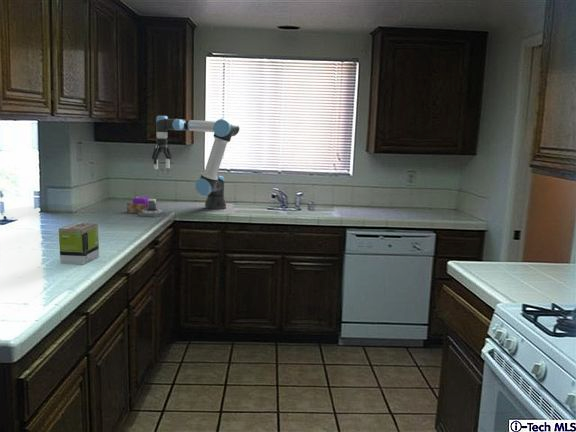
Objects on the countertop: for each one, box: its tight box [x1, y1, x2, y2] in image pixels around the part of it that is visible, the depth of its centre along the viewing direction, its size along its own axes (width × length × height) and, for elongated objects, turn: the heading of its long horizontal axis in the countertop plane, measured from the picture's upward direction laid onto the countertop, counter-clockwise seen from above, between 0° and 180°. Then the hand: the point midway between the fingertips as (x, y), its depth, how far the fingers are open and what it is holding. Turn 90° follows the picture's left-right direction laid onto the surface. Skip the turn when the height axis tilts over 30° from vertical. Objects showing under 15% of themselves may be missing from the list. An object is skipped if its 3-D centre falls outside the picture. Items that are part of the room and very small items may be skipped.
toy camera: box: [132, 196, 152, 209], centre depth 359 cm, size 11×14×10 cm
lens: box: [148, 198, 157, 211], centre depth 345 cm, size 5×5×8 cm
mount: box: [137, 208, 166, 218], centre depth 345 cm, size 12×12×4 cm
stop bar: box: [126, 202, 145, 214], centre depth 352 cm, size 13×2×6 cm, turn 67°
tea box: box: [58, 222, 100, 266], centre depth 223 cm, size 15×10×15 cm, turn 175°
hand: (161, 168), depth 382 cm, fingers open, 13 cm apart
